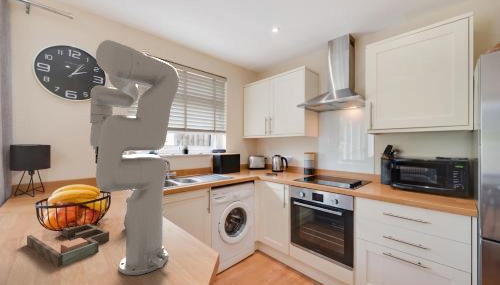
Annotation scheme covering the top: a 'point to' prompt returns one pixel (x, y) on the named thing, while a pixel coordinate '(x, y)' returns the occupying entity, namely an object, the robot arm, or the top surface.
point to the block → (73, 245)
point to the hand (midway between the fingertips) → (100, 163)
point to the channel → (84, 232)
